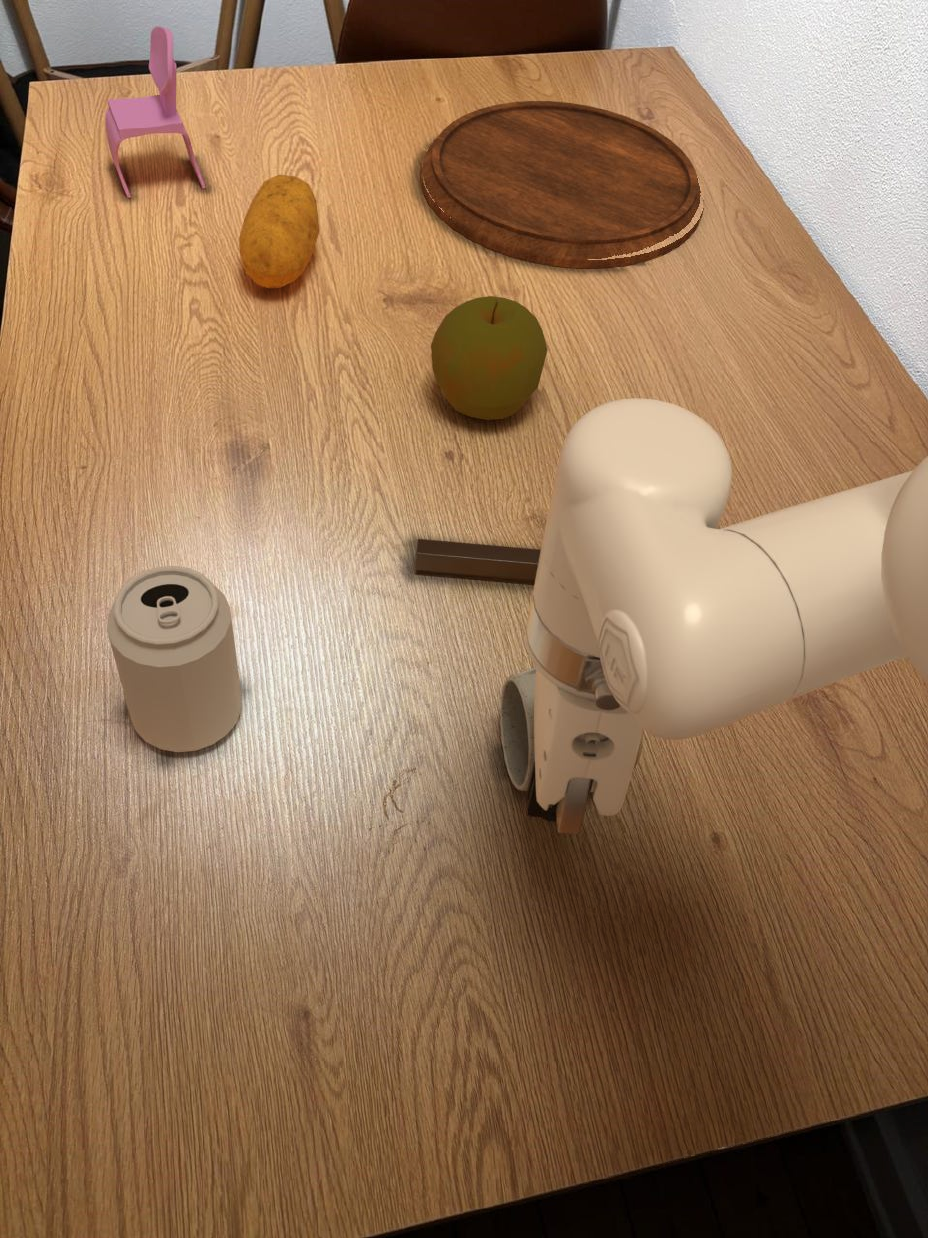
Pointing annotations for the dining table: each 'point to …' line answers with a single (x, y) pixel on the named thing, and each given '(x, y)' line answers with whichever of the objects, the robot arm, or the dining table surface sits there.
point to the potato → (279, 231)
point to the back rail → (476, 561)
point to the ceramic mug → (521, 727)
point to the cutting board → (561, 184)
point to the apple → (488, 357)
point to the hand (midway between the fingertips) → (551, 807)
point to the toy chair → (150, 105)
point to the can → (176, 658)
